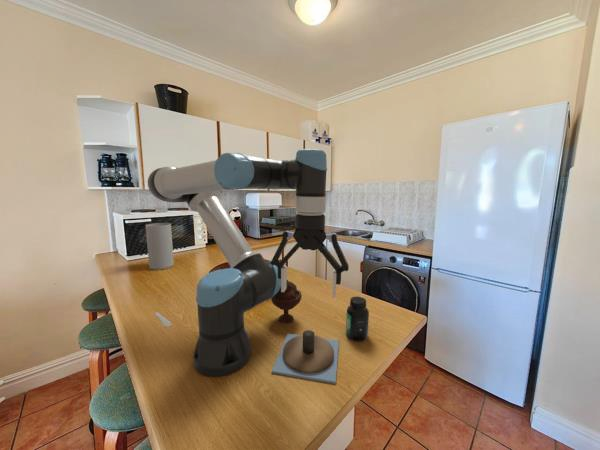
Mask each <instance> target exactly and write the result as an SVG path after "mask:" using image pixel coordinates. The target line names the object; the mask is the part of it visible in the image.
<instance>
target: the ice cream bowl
mask: <svg viewBox="0 0 600 450" xmlns="http://www.w3.org/2000/svg"><path fill="white" fill-rule="evenodd" d="M302 296H303V295H302V291H300V290H298V288H297V285H296V284H294V283H293V282H291V281H289V280H288V279H287V288H286V290H285V291H284V292H281V288H280V290H279V291H278V293H277V294H276V295H274V296H273V297H272V298H270V299H271V303H272V304H273V305H274V306H275V307H276V308H278V309H280V310H282V311H283V314H280V315H279V316H278V322H280V323H281V324H292V322H293V321H294V316H293V315H292V314H289V311H290V310H292V309H294V308H295V307H296V306H297V305H299V304H300V303H301V300H302Z"/></svg>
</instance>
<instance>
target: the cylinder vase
mask: <svg viewBox="0 0 600 450" xmlns="http://www.w3.org/2000/svg"><path fill="white" fill-rule="evenodd" d="M145 234H146V235H145V236H146V244H147V245H146V246H147V247H146V248H147V255H148V267H149V269H150V270H155V271H157V270H166V269H170V268H171V267H173V266H174V265H175V261H174V248H173V234H172V223H171V222H170V223H169V222H156V223H147V224H145Z"/></svg>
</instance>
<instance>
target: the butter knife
mask: <svg viewBox="0 0 600 450" xmlns="http://www.w3.org/2000/svg"><path fill="white" fill-rule="evenodd" d="M154 315H156V317H157V318H158V319H159V321H160V323H161V324H162V325H163V326H164V327H165V328H168V327H169V328H170V326H172V323H171V322H170V321H169V320H168V319H167V317H164V316H163V315H162V314H161V313H159V312H158V311H157V312H154Z"/></svg>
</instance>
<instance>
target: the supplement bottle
mask: <svg viewBox="0 0 600 450" xmlns="http://www.w3.org/2000/svg"><path fill="white" fill-rule="evenodd" d="M345 318H346V319H345V335H346V336H347V337H348V339H350V340H352V341H354V342H364V341H366V339H367V338H368V334H369V319H370V311H369V309H368V307H367V299H365V298H364V297H362V296H352V297H351V298H350V300H349V306H347V308H346V317H345Z"/></svg>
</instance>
